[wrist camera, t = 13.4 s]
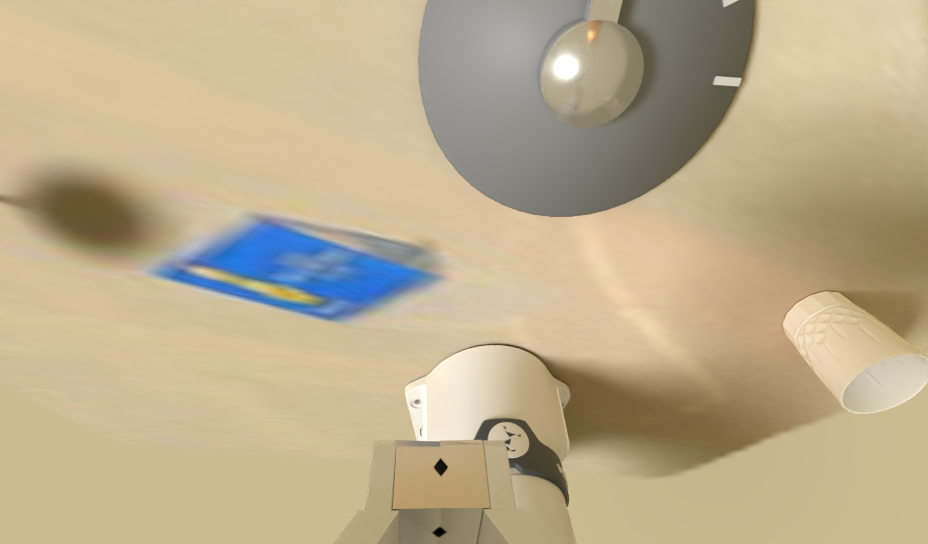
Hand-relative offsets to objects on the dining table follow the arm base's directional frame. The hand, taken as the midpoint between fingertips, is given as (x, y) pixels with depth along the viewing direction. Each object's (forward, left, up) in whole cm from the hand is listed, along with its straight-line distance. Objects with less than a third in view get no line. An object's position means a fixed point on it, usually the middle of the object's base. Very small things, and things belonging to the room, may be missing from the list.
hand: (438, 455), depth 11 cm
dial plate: (+3, -11, -31) cm, 33 cm away
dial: (+6, -11, -30) cm, 32 cm away
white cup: (-20, -42, -31) cm, 56 cm away
